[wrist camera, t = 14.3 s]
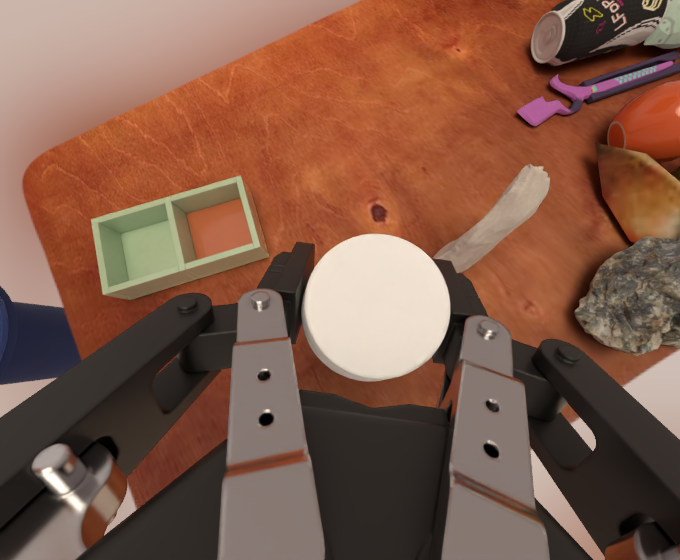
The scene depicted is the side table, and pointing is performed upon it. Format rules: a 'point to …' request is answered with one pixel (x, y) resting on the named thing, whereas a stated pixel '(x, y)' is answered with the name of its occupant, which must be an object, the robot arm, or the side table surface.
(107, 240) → the divided tray
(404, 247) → the pill bottle
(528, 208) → the stone tool
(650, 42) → the robot head
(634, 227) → the decorative stone
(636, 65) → the pink plastic clamp
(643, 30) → the beverage can
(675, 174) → the apple
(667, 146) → the tomato
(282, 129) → the side table surface
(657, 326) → the rock
